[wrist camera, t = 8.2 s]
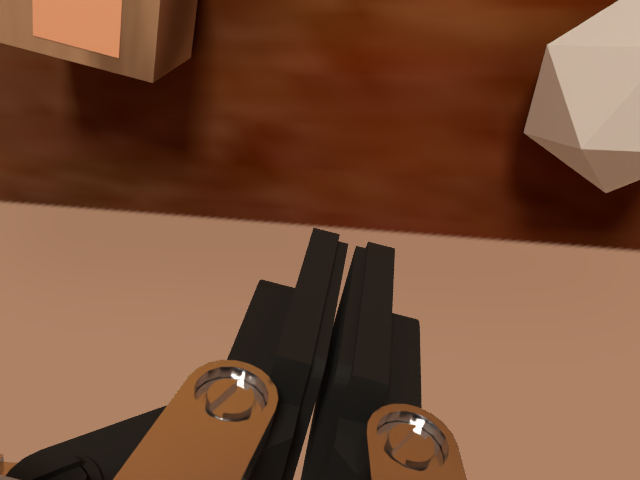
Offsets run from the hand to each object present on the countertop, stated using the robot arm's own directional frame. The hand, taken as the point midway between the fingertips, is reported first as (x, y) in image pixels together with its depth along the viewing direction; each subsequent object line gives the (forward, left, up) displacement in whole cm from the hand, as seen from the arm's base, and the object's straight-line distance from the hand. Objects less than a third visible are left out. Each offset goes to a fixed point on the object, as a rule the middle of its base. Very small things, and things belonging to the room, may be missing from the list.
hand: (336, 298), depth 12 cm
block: (+11, 0, -22) cm, 24 cm away
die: (-12, -1, -25) cm, 28 cm away
